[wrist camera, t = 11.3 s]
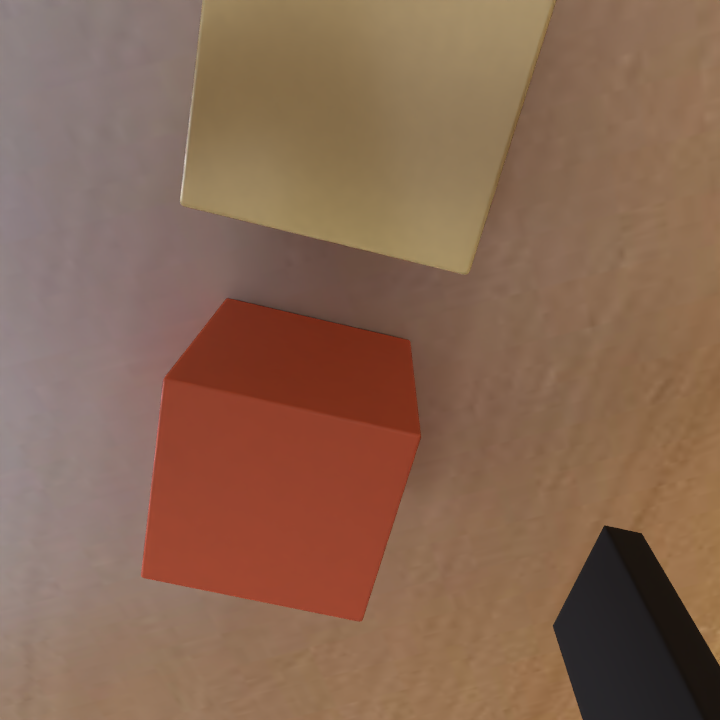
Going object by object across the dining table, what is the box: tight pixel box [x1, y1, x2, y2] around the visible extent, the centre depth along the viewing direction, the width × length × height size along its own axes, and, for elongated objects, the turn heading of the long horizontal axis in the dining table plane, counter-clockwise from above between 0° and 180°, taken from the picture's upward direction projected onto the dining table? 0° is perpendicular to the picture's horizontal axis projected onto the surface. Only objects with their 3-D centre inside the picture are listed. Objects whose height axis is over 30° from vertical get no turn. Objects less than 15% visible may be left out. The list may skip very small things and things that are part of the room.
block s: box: [141, 298, 421, 622], centre depth 15 cm, size 5×5×5 cm
